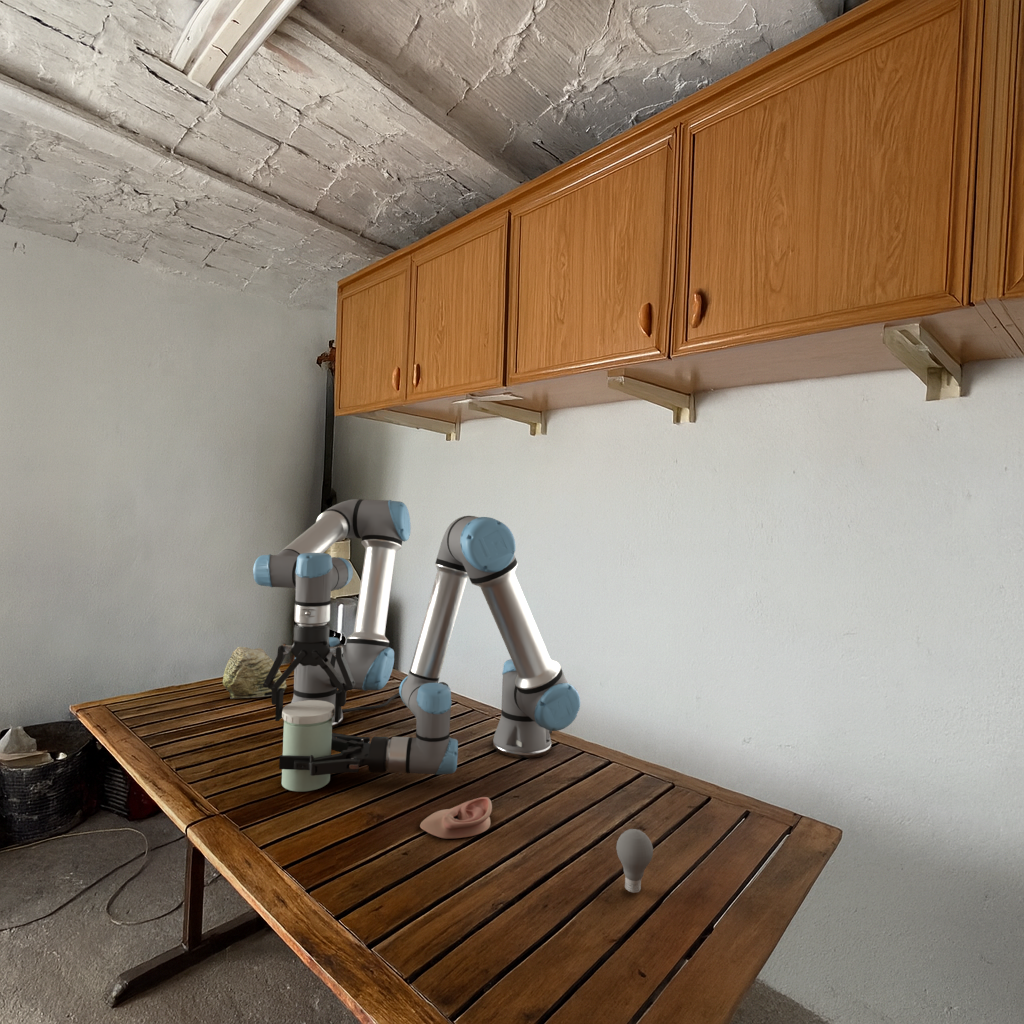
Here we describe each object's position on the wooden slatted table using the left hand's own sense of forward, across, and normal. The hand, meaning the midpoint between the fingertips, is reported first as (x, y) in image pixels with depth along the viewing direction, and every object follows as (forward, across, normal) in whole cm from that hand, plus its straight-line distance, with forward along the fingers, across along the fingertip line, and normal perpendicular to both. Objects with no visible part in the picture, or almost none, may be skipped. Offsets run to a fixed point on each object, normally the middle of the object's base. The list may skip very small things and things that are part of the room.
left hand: (308, 719), depth 141 cm
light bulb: (+14, +64, -38) cm, 76 cm away
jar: (+14, 0, 0) cm, 14 cm away
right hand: (+7, -4, 0) cm, 8 cm away
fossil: (+14, -32, +59) cm, 68 cm away
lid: (-2, 0, 0) cm, 2 cm away
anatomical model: (+14, +34, -18) cm, 41 cm away
